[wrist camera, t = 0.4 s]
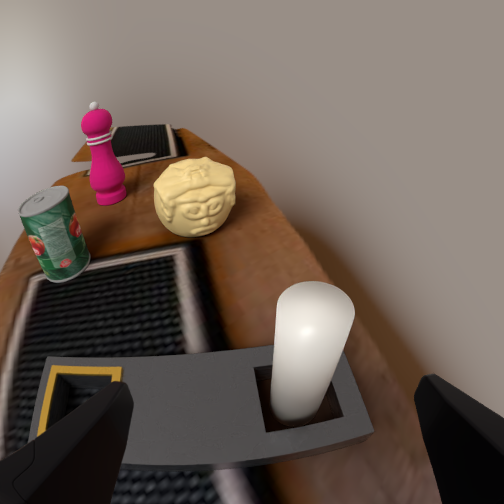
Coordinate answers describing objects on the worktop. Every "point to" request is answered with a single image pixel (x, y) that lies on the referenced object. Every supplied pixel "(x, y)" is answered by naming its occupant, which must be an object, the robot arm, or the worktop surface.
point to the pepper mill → (103, 157)
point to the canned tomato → (55, 233)
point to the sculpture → (194, 196)
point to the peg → (307, 348)
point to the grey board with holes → (202, 409)
